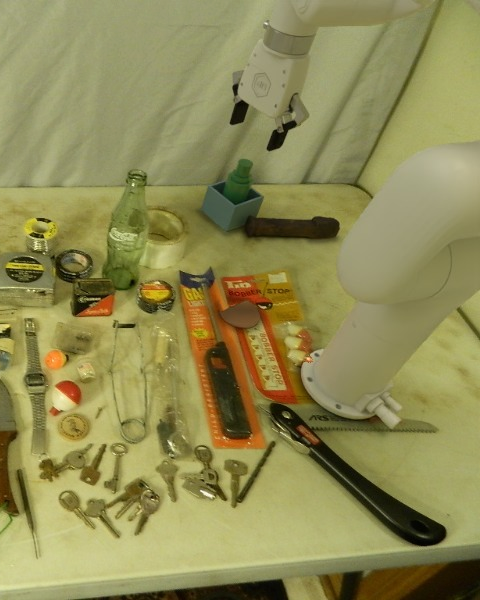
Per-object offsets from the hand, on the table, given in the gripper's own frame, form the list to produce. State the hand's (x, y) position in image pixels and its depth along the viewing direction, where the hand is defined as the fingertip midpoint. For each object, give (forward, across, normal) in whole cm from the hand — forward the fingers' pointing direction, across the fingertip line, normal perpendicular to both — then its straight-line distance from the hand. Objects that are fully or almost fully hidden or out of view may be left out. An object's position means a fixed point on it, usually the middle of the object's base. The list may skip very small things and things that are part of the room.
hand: (254, 135), depth 97 cm
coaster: (+18, +22, -17) cm, 33 cm away
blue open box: (+18, 0, 0) cm, 18 cm away
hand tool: (+18, +11, +8) cm, 23 cm away
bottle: (+18, 0, 0) cm, 18 cm away
